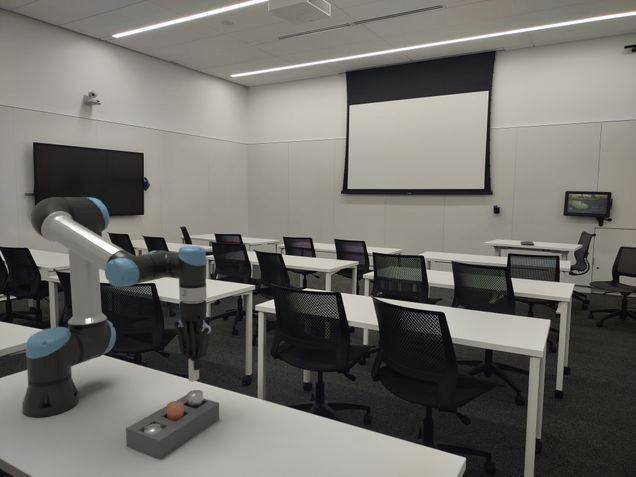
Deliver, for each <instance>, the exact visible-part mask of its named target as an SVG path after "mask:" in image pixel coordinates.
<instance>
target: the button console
mask: <svg viewBox="0 0 636 477" xmlns="http://www.w3.org/2000/svg"><path fill="white" fill-rule="evenodd" d="M175 401H181V402H183V406H184V416H183V417H182V418H180V419H179V420H177V421H173V420H170V419H167V405H165V406H164V407H162V408H160V409H158V410H157V411H154V412H153V413H151V414H149V415H148V416H146V417H144V418H142V419H141V420H139V421H137V422H135V423H133V424H132V425H129V426H128V427H126V428H125V432H126V435H125V436H126V438H125V440H126V443H125V444H126V447H128V448H130V449H132V450H135V451H137V452H139V453H142V454H145V455H147V456H150V457H153V458H155V459H157V460H161V459H163V458H164V457H165V456H168V454H171V453H172V451H174V450H176V449H177V448H179V447H180V446H182V445H183V444H185V443H186V442H187V441H189V440H191V439H192V438H193V437H195V436H196V435H199V433H201V432H202V431H203V430H205V429H207V428H208V427H209V426H212V425H213V424H214V423H215V422H217V421H218V420H220V402H219V401H218V402H217V401H214V400H210V399H208V398H204V397H203V405H201V406H200V407H198V408H197V409H195V408H192V407H188V396H187V394H186V395H184V396H182V397H180V398H178V399H176V400H175ZM151 424H160V425H161V426H162V430H160V431H159V432H157V433H156V434H154V435H150V434H147V433H144V428H145V427H146V426H148V425H151Z"/></svg>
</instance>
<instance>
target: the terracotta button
mask: <svg viewBox="0 0 636 477" xmlns="http://www.w3.org/2000/svg"><path fill="white" fill-rule="evenodd" d="M166 406H167V419H170V420H173V421H177V420H179V419H180V418H182V417H183V416H184V406H183V402H181V401H176V400H174V401H173V400H172V401H170V402H168V403H167V404H166Z"/></svg>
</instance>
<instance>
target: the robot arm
mask: <svg viewBox="0 0 636 477" xmlns="http://www.w3.org/2000/svg"><path fill="white" fill-rule="evenodd" d="M30 222H31V223H30V224H31V226H32V228H33V230H34V231H35V232H36V233H37V234H38V235H39V236H41V237H42V238H43V239H45V240H47V241H49V242H56V243H58V244H60V245H61V246H64V247H65V248H66V249H68V263H69V264H68V265H69V276H70V277H69V278H70V292H71V306H72V308H71V309H72V317H70V319H68V321H67V324H68V325H67V327H65V326H56V327H52V328H51V327H49V328H47V329H46V328H45V329H42V330H40V331H39V330H38V331H37V332H35V333H33V334H32V335H30V336H29V337H28V339H27V341H26V346H25V356H26V370H27V389H26V391H25V394H24V398H23V401H22V403H21V404H22V409H21V410H22V411H21V412H22V413H23V414H24V415H25V416H27V417H29V418H30V417H31V418H43V417H45V418H46V417H50V416H54V415H55V416H56V415H59V414H62V413H65V412H67V411H69V410H71V409H73V408H74V407H76V406H77V404H78V403H79V400H80V396H79V395H80V394H79V391H78V389H77V386H76V384H75V383H74V380H73V377H72V376H73V375H72V367H74V366H76V365H80V364H82V363H85V362H88V361H90V360H93V359H96V358H99V357H100V358H101V357H102V356H103V355H106V354H107V353H109V352H110V351H111V350H112V348H114V346H115V343H116V339H117V334H116V333H117V332H116V329H115V327H113V326H114V324H113V323H112V322H111V321H109V320H108V317H107V316H106V315H105V314H104V313H103V312H102V311H103V310H102V300H101V298H102V297H101V283H100V282H101V280H100V279H101V278H100V277H101V276H100V270H102V271H103V272H104V275H105V279H106V280H107V281H108V284H110V285H111V286H112V287H115V288H122V287H130V286H133V285H138V284H141V283H146V282H152V281H155V280H161V279H164V278H170V279H178V286H179V287H178V292H179V293H178V296H179V298H178V299H179V306H178V308H179V315H180V319H179V320H177V321H174V324H173V325H174V328H175V329H176V333H177V339H178V343H179V350H180V354H181V355H182V356H185V358H186V366H187V369H188V381H189V382H195V381H198V379H200V369H201V359H202V358H205V357H206V356H207V354H208V348H209V343H210V338H211V337H210V336H211V334H212V332H213V330H214V327H213V325H209V324H208V323H207V320H206V313H207V307H208V306H207V301H206V299H208V298H207V297H208V296H207V254H206V249H205V248H204V247H202V246H200V245H199V246H193V245H190V246H189V245H188V246H181V247H179V248H178V252H177V251H176V252H175V251H174V252H173V251H166V250H163V249H162V250H152V251H149V252H148V253H147V254H140V255H134V254H132V253H130V252H128V251H126V250H124V249H123V248H122V247H120V246H118V245H116V244H114V243H113V242H111V241H109V240H108V239H106V238H104V237H103V232H104V231H106V229H107V228H108V226H109V224H110V214H109V211H108V209H107V206H106V205H105V204H104V203H103V202H102V200H100V199H98V198H96V197H86V196H80V197H79V196H77V197H76V196H73V197H71V196H68V197H67V196H65V197H58V196H57V197H54V196H53V197H48V198H45V199H42V200H41V201H39V202H38V203H37V204H36V205H35V206H34V207H33V209H32V210H31V213H30Z"/></svg>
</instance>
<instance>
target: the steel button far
mask: <svg viewBox="0 0 636 477" xmlns="http://www.w3.org/2000/svg"><path fill="white" fill-rule="evenodd" d="M186 395H187V396H188V407H192V408H195V409H197V408H198V407H200V406H201V405H203V398H204V392H203V391H202V390H200V389H193V390H190V391H188V392H187V394H186Z"/></svg>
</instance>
